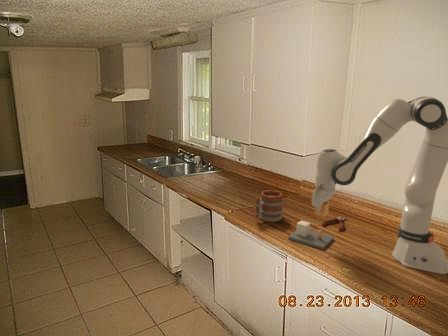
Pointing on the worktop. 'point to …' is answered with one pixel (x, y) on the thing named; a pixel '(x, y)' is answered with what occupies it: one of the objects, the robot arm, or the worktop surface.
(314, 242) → the plate
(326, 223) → the pliers
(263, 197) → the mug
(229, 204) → the worktop surface
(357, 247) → the worktop surface
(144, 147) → the worktop surface
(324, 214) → the orange matte cube
